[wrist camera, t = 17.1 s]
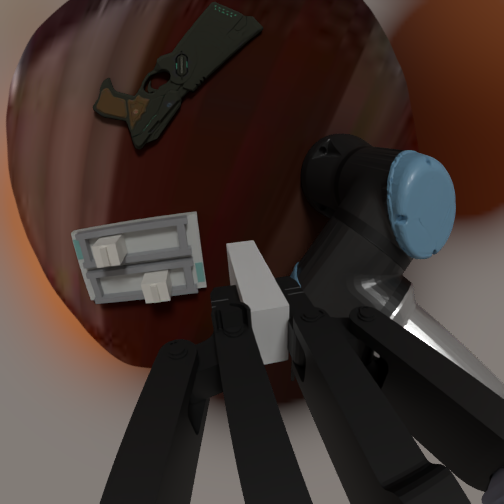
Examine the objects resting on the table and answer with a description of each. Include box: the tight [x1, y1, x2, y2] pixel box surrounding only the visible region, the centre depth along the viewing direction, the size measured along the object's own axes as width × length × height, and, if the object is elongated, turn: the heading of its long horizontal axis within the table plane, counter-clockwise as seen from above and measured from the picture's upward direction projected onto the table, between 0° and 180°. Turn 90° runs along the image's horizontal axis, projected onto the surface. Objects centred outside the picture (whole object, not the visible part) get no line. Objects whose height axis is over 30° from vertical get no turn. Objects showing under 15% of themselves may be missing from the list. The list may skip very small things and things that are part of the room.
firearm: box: [93, 2, 263, 149], centre depth 33 cm, size 28×2×15 cm
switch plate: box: [71, 211, 206, 304], centre depth 43 cm, size 22×13×3 cm, turn 93°
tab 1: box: [92, 233, 127, 268], centre depth 38 cm, size 4×3×6 cm
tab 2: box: [141, 269, 172, 303], centre depth 42 cm, size 4×3×6 cm
